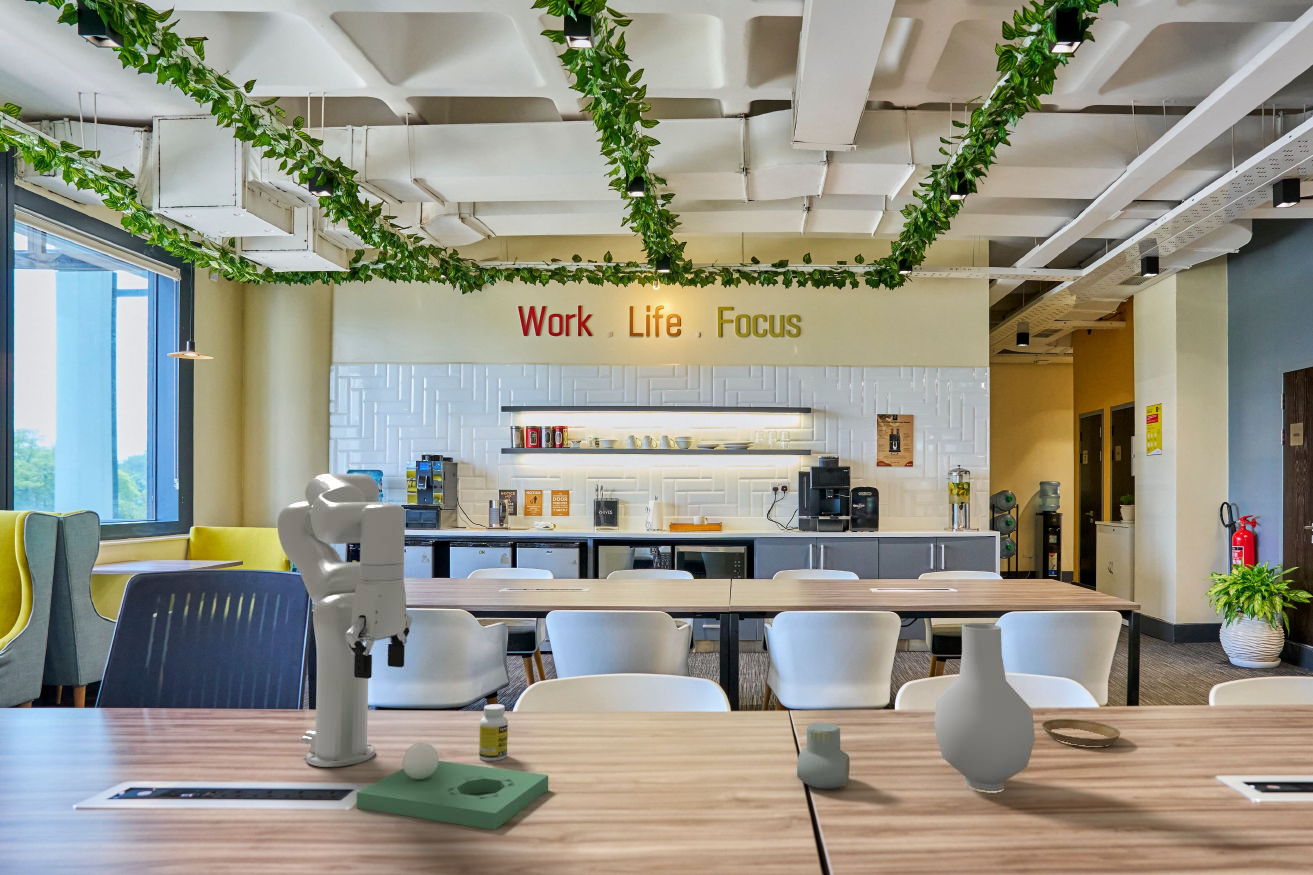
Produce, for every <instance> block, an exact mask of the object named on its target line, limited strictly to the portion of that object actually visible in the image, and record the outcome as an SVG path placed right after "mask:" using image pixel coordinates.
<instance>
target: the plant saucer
mask: <svg viewBox="0 0 1313 875" xmlns="http://www.w3.org/2000/svg"><path fill="white" fill-rule="evenodd" d="M1041 727H1042V729H1043V730H1044V731H1045V732H1046V733H1047V735H1048V736H1049V737H1051V738H1052V737H1053V738H1055V739H1057V740H1060V741H1064V742H1068V743H1071V744H1077V745H1085V746H1106V745H1109V746H1110V745H1112V744H1113V743H1115V741H1117V740H1118V738H1119V737H1120V736H1121V731H1120V730H1119V729H1117V728H1115V727H1114V726H1110V725H1108V724H1105V723H1100V722H1096V721H1090V720H1084V719H1073V718H1071V719H1070V718H1057V719H1048V720H1045V721H1043V722H1042V723H1041ZM1059 728H1073V729H1080V730H1084V731H1089V732H1093V733H1097V734H1100V735H1104V736H1106V737H1108V738H1104V739H1091V738H1079V737H1072V736H1066V735H1062V734H1058V733H1055V732H1052V731H1051V730H1052V729H1059ZM1053 738H1052V739H1053ZM1106 747H1107V746H1106Z"/></svg>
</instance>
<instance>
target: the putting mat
mask: <svg viewBox="0 0 1313 875" xmlns="http://www.w3.org/2000/svg"><path fill="white" fill-rule="evenodd" d="M548 790H549V775H548V774H543V773H542V774H541V773H535V772H528V771H520V770H514V769H513V770H512V769H505V768H504V769H503V768H497V767H489V766H481V765H474V764H464V763H458V762H452V761H451V762H449V761H444V760H443V761H442V760H439V762H438V766H437V768H436V770H435V771H434V773H433V774H432V775H431V776H429V777H427V778H425V779H421V780H416V779H413V778H411V777H409V776H408V775H407V774H406V773H405V771H404V768H402V769H400V770H398V771H396V772H394V773H392V774H390V775H387V776H386V777H384V778H382V779H380V780H378V781H377V782H374V783H372V784H370V785H368V786H367V787H364V788H363V789H361V790H358V791H356V809H360V810H367V811H374V812H379V813H386V814H393V815H400V816H405V817H412V818H418V819H424V820H430V821H431V820H432V821H437V822H445V823H449V824H456V825H463V826H468V827H476V828H483V829H486V830H487V829H489V830H494V831H495V830H497V829H498V828H500V827H501V826H502V825H503V824H504V823H506V822H507V821H509V820H510V819H511V818H513V817H514V816H515V815H516V814H518V813H519V812H521V811H522V810H523V809H525V808H526V807H528V806H529V805H530V804H532V803H533V802H534V801H535V800H537V799H538V798H539V797H541V796H542V795H544V793H546V792H547V791H548Z"/></svg>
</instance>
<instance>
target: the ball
mask: <svg viewBox="0 0 1313 875" xmlns="http://www.w3.org/2000/svg"><path fill="white" fill-rule="evenodd" d="M439 761H440V760H439V753H438V751H437V748H435V747H434V746H433V745H432V744H430V743H427V742H424V741H423V742H417V743H415V744H412V745H411V746H410V747H409V748H407V750H406V751H405V753H404V755H403V758H402V767H403V768H404V771H405V773H406V774H407V775H408V776H409V777H411V778H413V779H416V780H421V779H425V778H427V777H429V776H431V775H432V774H433V773H434V771H435V770H436V768H437V766H438V762H439ZM403 768H402V769H403Z"/></svg>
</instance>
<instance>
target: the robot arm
mask: <svg viewBox="0 0 1313 875" xmlns="http://www.w3.org/2000/svg"><path fill="white" fill-rule="evenodd" d="M304 493H305V500H306V501H299V502H295V503H291V504H289V505H287V506H286V507H284V508H283V509H282V510H280V513H279V514H278V518H277V526H276V528H277V534H278V538H279V542H280V546H281V548H282V550H283V552H284V554H285V555H286V557H287V558H288V559H289V561H290V562H291V563H292V564H293V565H294V567H295V568H296V569H297V570H298V571H299V574H300V577H301V579H302V581H303V583H304V587H305V588H306V591H307V594H308V596H309V598H310V599H311V601H312V603H313V604H314V605H315V606H314V608H313V613H312V623H313V630H314V636H315V645H316V646H315V648H316V691H315V692H316V694H315V695H316V696H315V697H316V700H315V702H316V703H315V704H316V705H315V731H314V730H307V731H306V732H305V734H304V736H302V738H301V744H304V745H310V750H309V751H307V753H306V755H305V756H306V758H305V760H306V762H307V764H309V765H311V766H314V767H321V768H338V767H346V766H351V765H357V764H360V763H362V762H365V761H368V760H369V759H372V757H374V756H375V754H376V747H375V745H373V744H371V743H369V742H368V721H369V720H368V717H369V716H368V715H369V714H368V713H369V712H368V710H369V707H368V706H369V679H370V678H372V675H373V674H372V673H373V666H372V665H373V654H370V652H371V651H372V648H373V646H374V644H375V642H376V641H380V640H384V639H389V641H390V643H388V645H387V666H388V667H393V668H403V667H404V666H405V648H406V647H405V645H406V644H407V643H408V642H407V641H408V636H409V633H410V628H411V625H412V623H413V618H412V616H410V615H409V614H408V613H407V597H406V596H407V594H406V587H405V581H404V580H405V536H406V535H405V530H406V529H405V528H406V512H405V509H404V507H403V506H402V505H400V504H395V503H394V504H392V503H390V502H387V501H386V502H384V501H379V500H380V489H379V486H378V483H377V481H376V480H375V478H373V477H372V476H370V475H369V474H365V473H325V474H319V475H316V476H315V477H313V478H311V480H310V481H309V482H308V483H307V485H306V487H305V492H304ZM330 544H333V545H338V544H342V545H343V544H360V546H359V547H360V548H359V551H360V552H359V561H352V562H351V561H350V562H349V561H343V559H342V558H341V555H340V554H339V553H338V551H337V550H336V549H335V548H334V547H333V546H331V545H330ZM363 643H365V645H364V644H363Z"/></svg>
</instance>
